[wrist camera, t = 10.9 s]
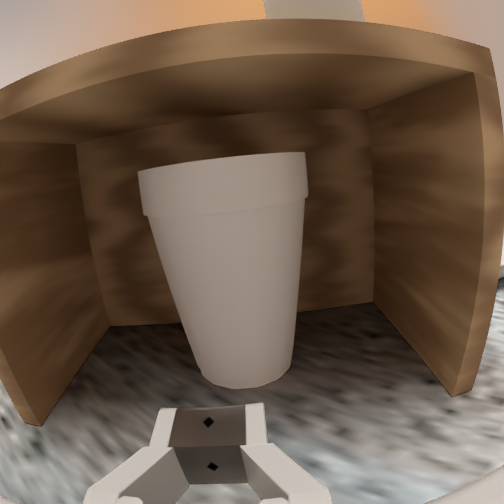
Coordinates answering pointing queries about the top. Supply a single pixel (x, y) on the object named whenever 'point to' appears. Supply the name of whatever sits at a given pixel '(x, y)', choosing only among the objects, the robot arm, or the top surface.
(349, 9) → the white pillar candle
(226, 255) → the foam cup
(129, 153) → the cubby
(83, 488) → the top surface
